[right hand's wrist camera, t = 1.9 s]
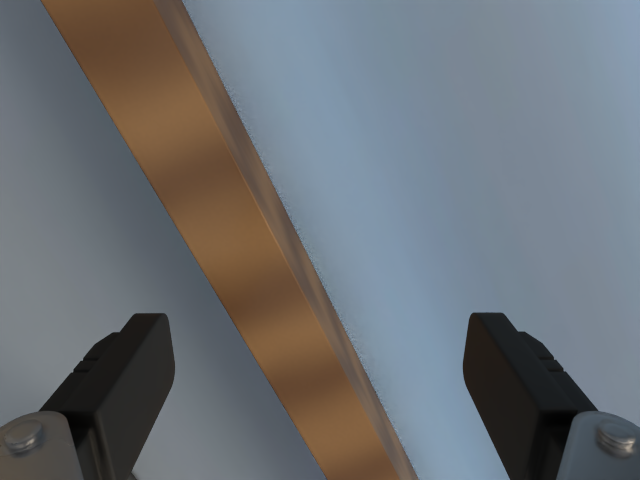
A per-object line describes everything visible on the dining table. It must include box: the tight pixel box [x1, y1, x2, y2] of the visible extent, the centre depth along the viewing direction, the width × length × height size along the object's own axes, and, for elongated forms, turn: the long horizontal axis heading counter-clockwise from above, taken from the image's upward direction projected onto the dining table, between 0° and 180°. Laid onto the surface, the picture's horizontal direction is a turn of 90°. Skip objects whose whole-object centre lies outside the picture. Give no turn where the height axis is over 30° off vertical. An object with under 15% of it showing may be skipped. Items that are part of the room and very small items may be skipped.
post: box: [41, 0, 419, 480], centre depth 32 cm, size 77×4×6 cm, turn 24°
